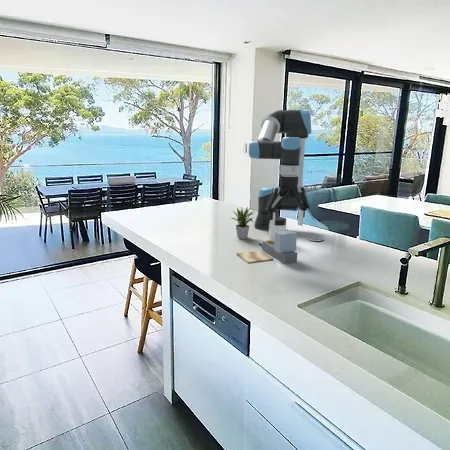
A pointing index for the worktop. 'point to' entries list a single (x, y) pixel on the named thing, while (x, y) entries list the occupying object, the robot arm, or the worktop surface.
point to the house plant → (242, 223)
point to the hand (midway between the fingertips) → (286, 226)
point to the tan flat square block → (254, 256)
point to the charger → (285, 241)
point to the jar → (277, 227)
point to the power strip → (283, 257)
